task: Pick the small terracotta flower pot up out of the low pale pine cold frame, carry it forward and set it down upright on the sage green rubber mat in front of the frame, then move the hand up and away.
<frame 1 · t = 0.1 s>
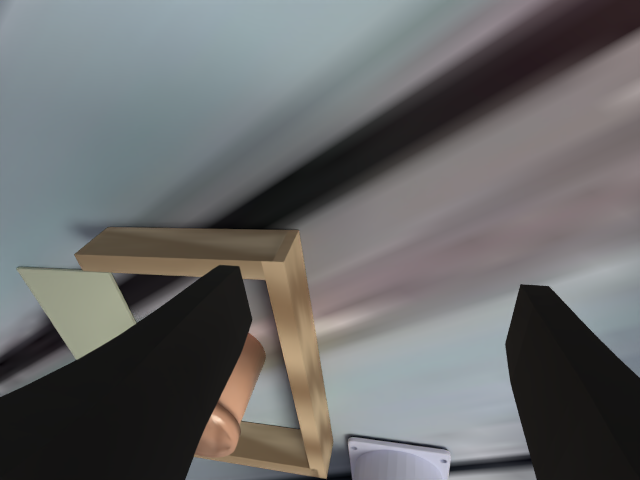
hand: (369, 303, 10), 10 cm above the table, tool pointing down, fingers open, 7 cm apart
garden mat: (102, 337, 32), on the table
cold frame: (233, 349, 29), on the table
terracotta pot: (215, 386, 27), in the cold frame
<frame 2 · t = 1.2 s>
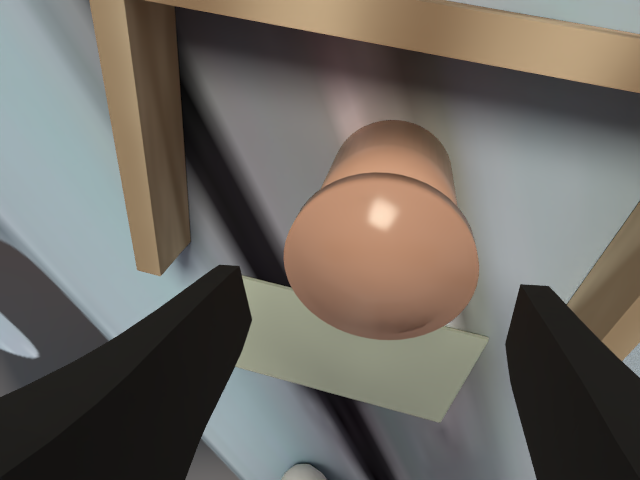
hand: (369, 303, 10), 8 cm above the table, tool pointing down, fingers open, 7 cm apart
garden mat: (343, 351, 23), on the table
cold frame: (390, 179, 17), on the table
terracotta pot: (384, 216, 14), in the cold frame
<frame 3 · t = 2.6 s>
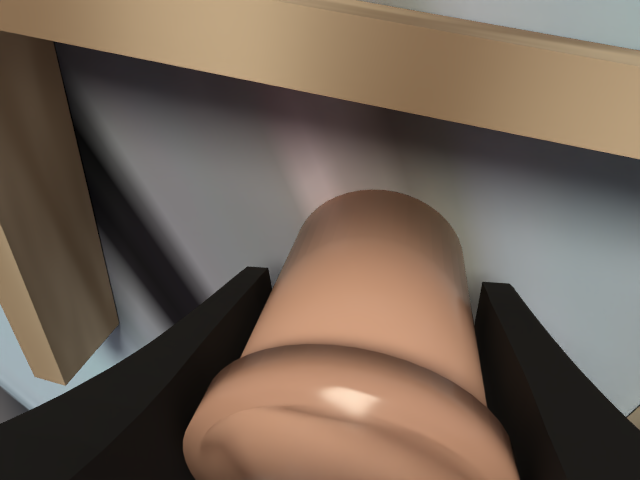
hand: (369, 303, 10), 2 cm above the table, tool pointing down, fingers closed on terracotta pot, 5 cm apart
cold frame: (375, 265, 12), on the table
terracotta pot: (363, 347, 9), in the cold frame, touching gripper
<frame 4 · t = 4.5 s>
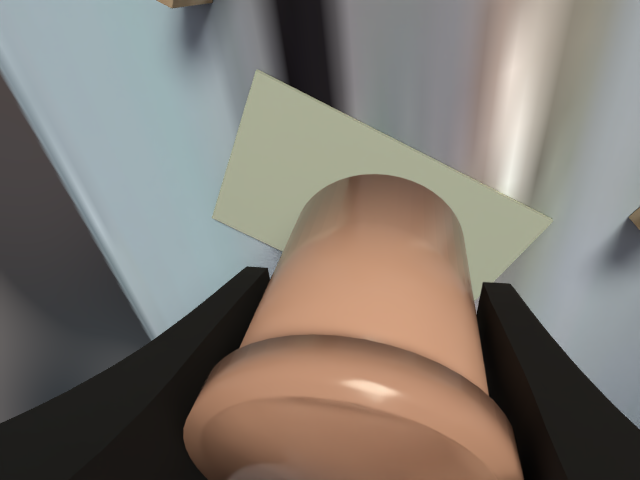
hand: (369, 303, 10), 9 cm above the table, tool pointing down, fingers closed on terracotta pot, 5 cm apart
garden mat: (365, 217, 19), on the table
terracotta pot: (363, 334, 9), point 10 cm above the table, touching gripper
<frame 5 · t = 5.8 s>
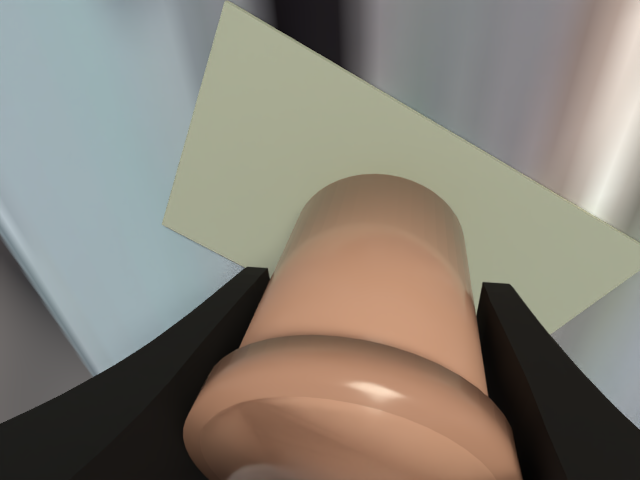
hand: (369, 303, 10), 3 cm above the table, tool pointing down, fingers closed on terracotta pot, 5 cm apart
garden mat: (379, 235, 13), on the table
terracotta pot: (363, 334, 9), point 5 cm above the table, touching gripper
when the fingers open (3 cm above the table, at t = 6.6 s): terracotta pot drops 1 cm, resting on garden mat.
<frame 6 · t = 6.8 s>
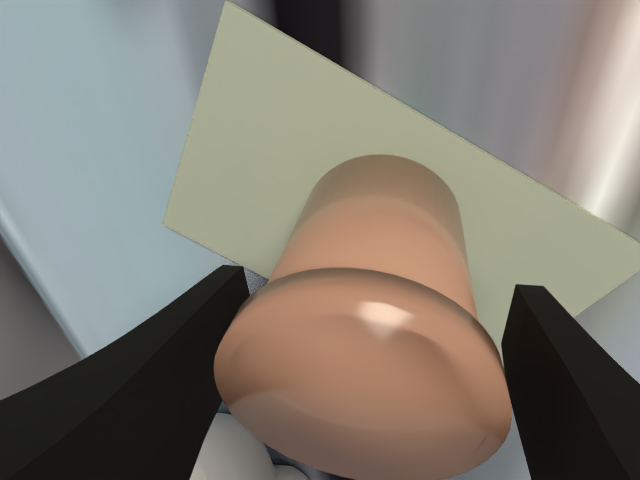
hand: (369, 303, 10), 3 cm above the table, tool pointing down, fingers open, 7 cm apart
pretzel: (252, 456, 24), on the table
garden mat: (380, 234, 13), on the table
terracotta pot: (369, 294, 10), resting on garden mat
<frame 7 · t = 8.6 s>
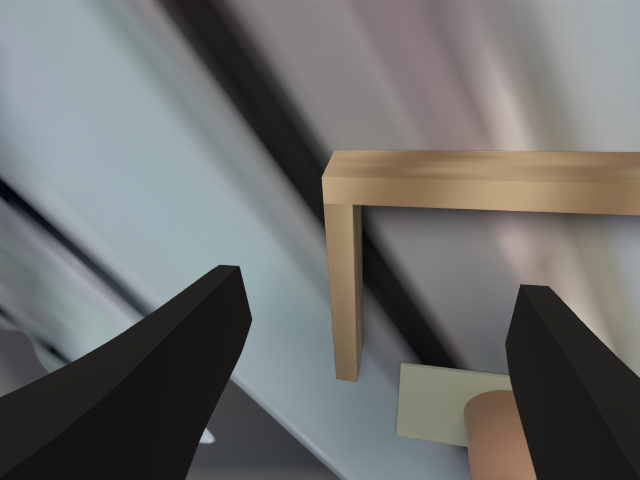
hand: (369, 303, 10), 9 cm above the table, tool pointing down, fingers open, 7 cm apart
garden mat: (506, 415, 26), on the table
cold frame: (551, 279, 19), on the table
terracotta pot: (514, 465, 23), resting on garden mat
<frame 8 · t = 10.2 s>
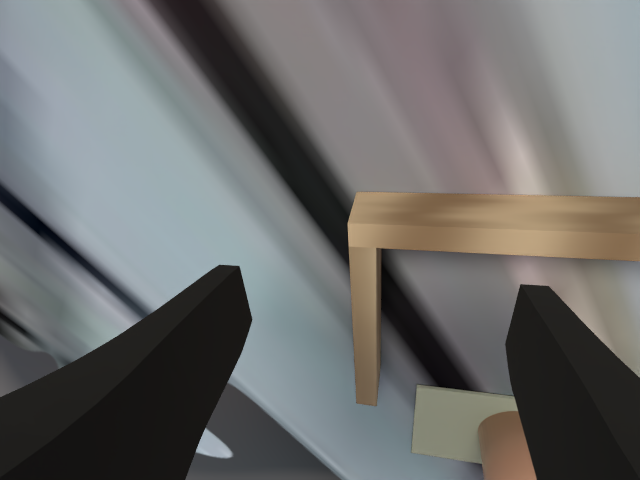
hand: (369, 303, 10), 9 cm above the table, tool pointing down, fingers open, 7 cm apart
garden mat: (519, 434, 27), on the table
cold frame: (562, 310, 20), on the table
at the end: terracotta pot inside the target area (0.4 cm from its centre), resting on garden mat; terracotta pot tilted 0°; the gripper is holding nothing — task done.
